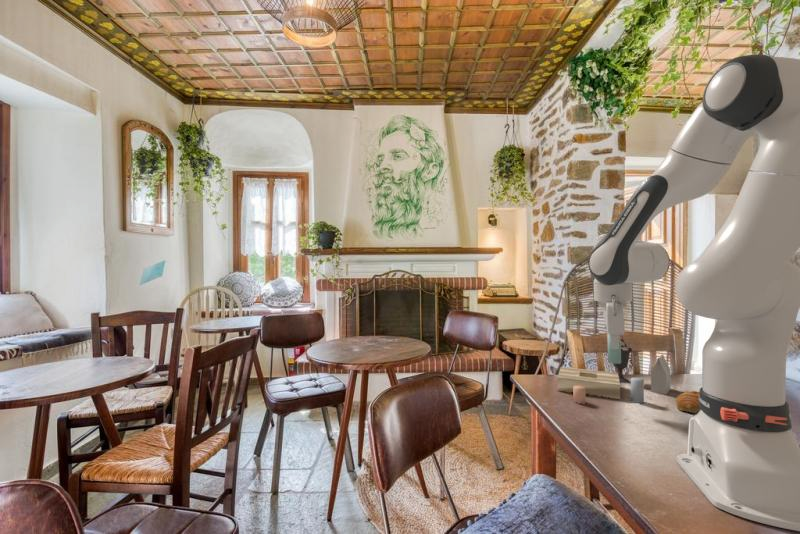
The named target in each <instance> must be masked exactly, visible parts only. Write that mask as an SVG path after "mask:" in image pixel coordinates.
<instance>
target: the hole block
mask: <svg viewBox="0 0 800 534" xmlns="http://www.w3.org/2000/svg"><path fill="white" fill-rule="evenodd" d="M557 375H558V376H557V391H558V392H563V391H566V392H565V393H571V392H573V386H583V387H585V394H589V395H588V396H593V395H597V396H596V397H601V396H603V397H602V398H608V397H609V398H610V399H618V400H621V382H620V381H619V376H618V372H612V371H601V370H594V369H585V368H584V369H583V368H574V367H573V368H572V367H563V366H560V368H559V371H558V374H557Z"/></svg>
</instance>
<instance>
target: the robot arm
mask: <svg viewBox="0 0 800 534" xmlns="http://www.w3.org/2000/svg"><path fill="white" fill-rule="evenodd" d="M755 135H758V138H759V145H758V149H757V152H756V154H755V156H754V159H753V161H752V163H751V166H750V168H749V171H748V172H747V175H746V178H745V179H744V182H743V184H742V187H741V188H740V191H739V193H738V196H737V198H736V200H735V203H734V204H733V207H732V209H731V211H730V214H729V215H728V217H727V219H726V220H725V222H724V223H723V224H722V226H721V227H720V229H719V230H718V232H717V233H716V234H715V236H714V237H713V238H712V240H711V241H710V242H709V243H708V245H707V246H706V248H705V249H704V250H703V251H702V253H701V254H700V255H699V256H698V257H697V258H696V259H694V261H692V262H691V263H689V264H688V265H686V266H685V267H684V268H683V269H682V270H681V271H680V272H679V274H678V275H677V277H676V281H675V284H674V285H675V295H676V297H677V300H678V301H679V303H680V304H681V306H682V307H683V308H685V310H687V311H688V312H689V313H691V314H693V315H696V316H699V317H703V318H706V319H712V320H716V322H715V326H714V328H713V331H712V333H711V334H710V337H709V338H708V339H707V341H705V343H704V345H703V348H702V351H701V352H702V363H701V364H702V368H701V369H702V373H701V375H702V376H701V378H702V380H701V381H702V383H701V384H702V385H701V387H700V388H699V391H698V392H699V398H698V399H699V408H700V409H701V410H700V411H699V413H696V414H695V415H694V416H692V417H691V418H689V422H688V435H687V436H688V437H687V453H681V454H678V455H677V456H676V462H677V463H678V465H679V466H680V467H681V468H682V470H684V472H685V473H686V474H687V475H688V477H689V478H690V479H691V481H692V482H693V483H694V484H695V486H697V487H698V489H699V490H700V491H701V492H702V494H703V495H704V496H705V497H706V498H707V499H708V500H709V502H710V503H711V504H712V505H713V506H715V507H716V508H718V509H719V510H723V511H725V512H727V513H730V514H731V515H735V516H738V517H740V518H743V519H746V520H750V521H754V522H757V523H760V524H764V525H767V526H772V527H777V528H782V529H785V530H791V531H796V532H800V446H799V442H798V441H797V434H796V433H795V432H794V431H792V430H791V429H792V427H793V425H792V412H791V411H790V406H789V403H788V402H787V401H786V385H787V384H786V383H787V382H786V381H787V380H786V376H787V375H786V374H787V358H788V357H787V356H788V351H789V346H790V343H791V339H792V336H793V333H794V328H795V324H796V321H797V317H798V314H799V311H800V267H799V266H798V265H796V264H794V263H792V262H790V260H791V258H793V256H794V255H796V253H797V251H798V250H799V249H800V59H799V58H794V57H784V56H782V57H781V56H769V55H767V54H763V53H762V54H748V55H742V56H736V57H734V58H731V59H729V60H728V61H726V62H724V64H722V65H721V66H720V67H719V68H718V69H717V70H716V71H715V72H714V73H713V74H712V76H711V77H710V78H709V80H708V82H707V84H706V86H705V88H704V90H703V94H702V102H701V103H700V104H699V105H697V106H696V108H695V110H694V111H693V112H692V113H691V115H689V118H688V119H687V120H686V122H685V123H684V125H683V126H682V128H681V130H679V132H678V134H677V136H676V137H675V139H674V141H673V143H672V145H671V146H670V149H669V150H668V152H667V154H666V156H665V157H664V158H663V160H662V162H661V163H660V164H659V166H657V168H656V169H655V170H654V171H653V173H652V174H651V175H650V176H649V177H647V178H646V179H645V180H644V181H642V182H641V183H640V184H639V186H638V187H637V188H636V190H635V191H634V192H633V194H632V195H631V196H630V198H629V199H628V201H627V202H626V204H625V206H624V207H623V208H622V211H621V212H620V213H619V215H618V216H617V218H616V220H615V221H614V223H613V224H612V225H611V227H610V228H609V230H608V232H604V233H601V234H599V235H598V236H596V238H595V239H594V243H593V249H592V251H591V253H590V254H589V258H588V268H589V271H590V274H591V275H592V277H593V279H594V280H593V300H594V301H595V302H599V307H600V308H601V309H602V315H603V321H604V324H605V328H606V334H607V333H608V334H610V340H611V348H612V349H619V337H620V336H624V334H625V312H624V309H625V308H626V309H627V308H628V302H633V284H635V283H636V284H639V283H650V282H655V281H658V280H661V279H662V278H664V277H665V276H666V274H667V273H668V270H670V269H669V268H670V265H671V262H670V256H669V253H668V251H667V250H666V249H665V247H664V246H662V245H661V244H660V243H659V244H658V243H654V242H649V241H645V240H642V239H641V237H642V236H643V234H644V233H645V231H646V230H647V228H648V227H649V225H650V224H651V223H652V221H653V220H654V219H655V218H656V217H657V216H658V215H660V214H661V213H663V212H664V211H665V210H668V209H670V208H673V207H675V206H677V205H680V204H683V203H686V202H689V201H692V200H695V199H696V200H697V199H699V198H702V197H704V196H705V195H707V194H709V193H711V192H712V191H713V190H715V188H716V187H717V186H718V184H720V182H722V180H723V179H724V177H725V176H726V174H727V173H728V171H729V170H730V167H732V165H733V164H734V162H735V159H736V158H737V156H738V154H739V152H740V150H741V149H742V147H743V146H744V144H746V142H747V141H748V140H749V139H751V137H755ZM640 239H641V240H640ZM620 338H621V337H620Z"/></svg>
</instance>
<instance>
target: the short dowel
mask: <svg viewBox="0 0 800 534" xmlns="http://www.w3.org/2000/svg"><path fill="white" fill-rule="evenodd" d="M572 395H573V397H572V398H573V401H574V402H577V403H585V402H586V403H587V401H586V394H585V387H583V386H573V394H572ZM573 401H572V402H573ZM574 402H573V403H574ZM577 403H576V404H577ZM586 403H585V404H586Z"/></svg>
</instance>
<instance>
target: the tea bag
mask: <svg viewBox="0 0 800 534" xmlns="http://www.w3.org/2000/svg"><path fill="white" fill-rule="evenodd" d="M656 360H657V361H656V362H655V364H654V366H653V368H652V369H651V371H650V393H655V394H659V395H665V396H666V395H668V393H669V391H671V368H670V366H669V365H668V361H666V358H665V356H664V354H663V353H661V354H660V355H659V356H658V357H657V359H656Z"/></svg>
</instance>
